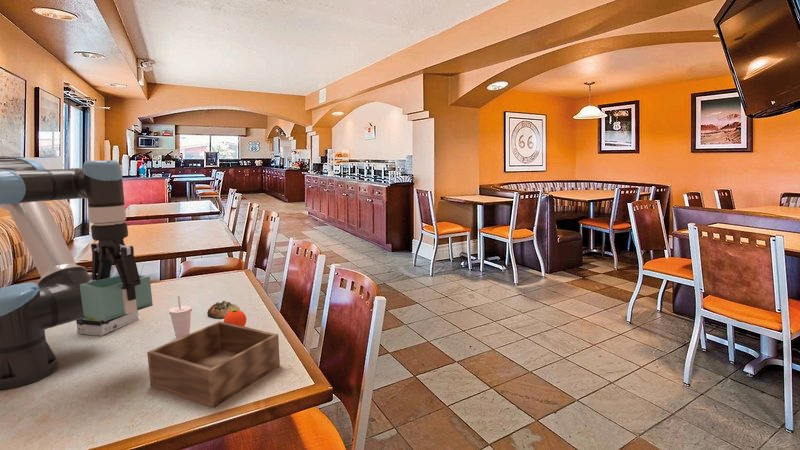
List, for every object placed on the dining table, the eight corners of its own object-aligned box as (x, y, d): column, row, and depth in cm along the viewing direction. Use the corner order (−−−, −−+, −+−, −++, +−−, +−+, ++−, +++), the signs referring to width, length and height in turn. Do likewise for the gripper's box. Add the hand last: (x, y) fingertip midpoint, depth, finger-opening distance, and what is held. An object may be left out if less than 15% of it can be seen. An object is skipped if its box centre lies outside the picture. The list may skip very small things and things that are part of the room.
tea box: (103, 336, 136) (97, 292, 134) (76, 334, 138) (71, 290, 136) (140, 319, 151) (135, 278, 149) (115, 317, 153) (111, 277, 151)
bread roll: (203, 312, 158) (204, 298, 157) (234, 309, 164) (236, 297, 164) (211, 322, 149) (212, 308, 148) (243, 319, 155) (244, 306, 155)
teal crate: (105, 321, 103) (101, 288, 102) (83, 315, 107) (79, 284, 106) (152, 305, 113) (149, 276, 112) (131, 301, 117) (128, 272, 116)
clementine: (224, 327, 143) (222, 307, 142) (245, 323, 146) (244, 304, 145) (224, 336, 136) (223, 315, 135) (247, 332, 139) (246, 311, 138)
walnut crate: (213, 407, 97) (210, 370, 96) (150, 386, 107) (147, 352, 105) (279, 365, 117) (278, 334, 115) (221, 350, 126) (219, 321, 125)
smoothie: (169, 343, 131) (165, 299, 129) (174, 335, 137) (170, 293, 135) (192, 341, 133) (188, 297, 130) (195, 333, 139) (192, 291, 137)
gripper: (151, 223, 105) (160, 310, 109) (99, 218, 115) (109, 299, 118) (120, 227, 99) (130, 320, 102) (67, 222, 108) (79, 308, 112)
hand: (119, 309), depth 110 cm, fingers closed on teal crate, 9 cm apart
